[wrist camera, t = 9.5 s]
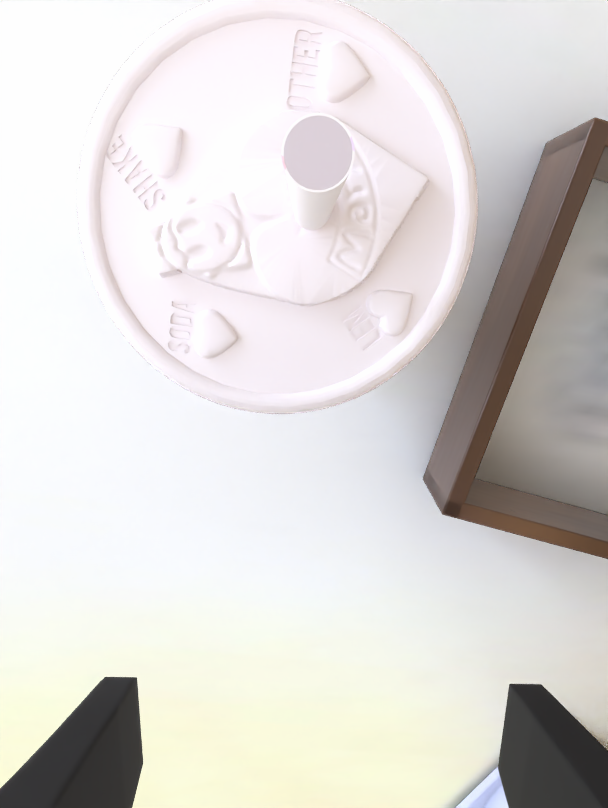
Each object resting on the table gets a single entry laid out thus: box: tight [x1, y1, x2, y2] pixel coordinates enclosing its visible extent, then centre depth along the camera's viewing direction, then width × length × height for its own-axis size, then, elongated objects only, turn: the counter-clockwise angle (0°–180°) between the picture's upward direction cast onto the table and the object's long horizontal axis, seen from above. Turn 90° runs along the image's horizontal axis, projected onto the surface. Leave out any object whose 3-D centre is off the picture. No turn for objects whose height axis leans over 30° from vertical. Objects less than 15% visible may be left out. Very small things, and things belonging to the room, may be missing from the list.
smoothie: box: [77, 0, 478, 414], centre depth 11 cm, size 6×6×14 cm
